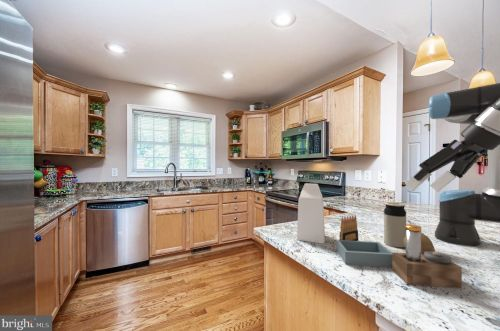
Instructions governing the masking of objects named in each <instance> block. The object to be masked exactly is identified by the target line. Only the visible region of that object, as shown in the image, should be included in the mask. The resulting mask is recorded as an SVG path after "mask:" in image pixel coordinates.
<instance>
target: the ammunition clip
mask: <svg viewBox="0 0 500 331" xmlns="http://www.w3.org/2000/svg"><path fill="white" fill-rule="evenodd" d="M357 220H358V219H357V216H356V214H354V215H353V214H352V215H349V216H348V215H347V216H344V217H343V216H342V217H341V219H340V228H339V229H340V231H339V240H348V241H359V230H358V221H357Z"/></svg>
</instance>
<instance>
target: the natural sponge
mask: <svg viewBox="0 0 500 331" xmlns="http://www.w3.org/2000/svg"><path fill="white" fill-rule="evenodd" d="M403 243H404V246H405V247H404V249H406V236H405V238H404V240H403ZM426 251H433V252H436V249H435V246H434V244H433V242H432V240H431V239H430V237H428V235H426V234H424V232H423V233H422V232H421V254H424V252H426Z"/></svg>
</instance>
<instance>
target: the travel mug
mask: <svg viewBox="0 0 500 331" xmlns="http://www.w3.org/2000/svg"><path fill="white" fill-rule="evenodd" d="M384 205H385V208H384V209H383V243H384V244H385V245H387V246H390V247H393V248H401V249H402V248H405V246H404V243H403V240H404V238H405V236H406V224H407V211H406V210H405V206H406V204H405V203H401V202H394V201H392V202H391V201H389V202H387V201H386V202H384Z"/></svg>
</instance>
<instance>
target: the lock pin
mask: <svg viewBox="0 0 500 331" xmlns="http://www.w3.org/2000/svg"><path fill="white" fill-rule="evenodd" d="M421 233H422V226H420V225H417V224H412V223H410V224H409V223H406V248H405V253H406V259H407V260H408V261H410V262H421Z"/></svg>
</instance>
